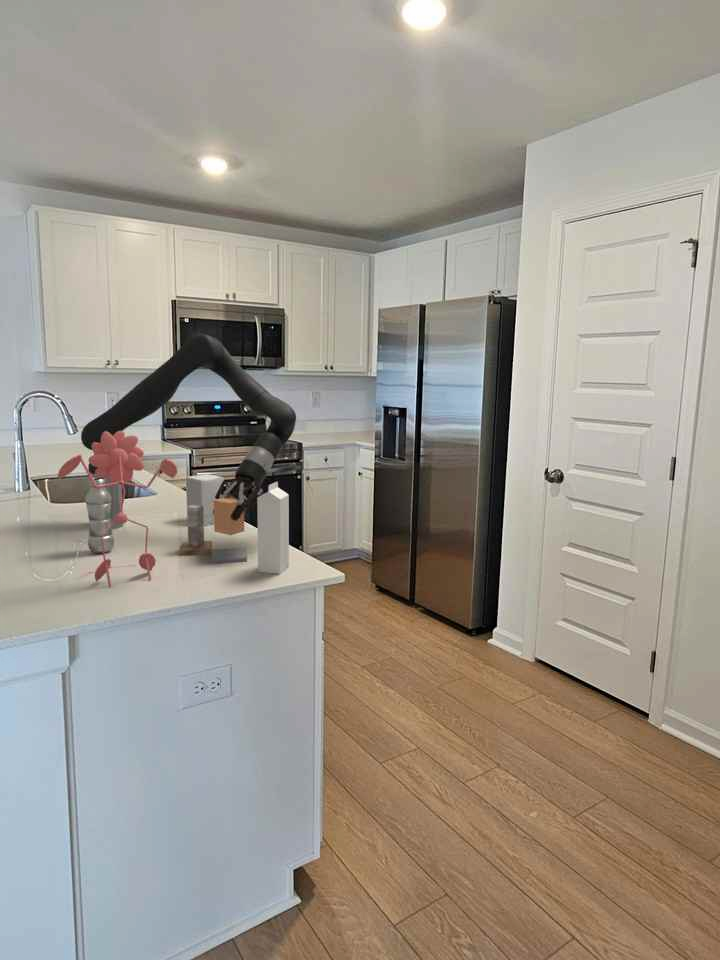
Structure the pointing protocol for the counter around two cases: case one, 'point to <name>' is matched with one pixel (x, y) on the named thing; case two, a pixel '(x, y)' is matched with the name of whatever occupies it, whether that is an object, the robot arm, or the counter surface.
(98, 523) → the plastic bottle
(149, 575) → the figurine
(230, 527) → the tall orange box
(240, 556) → the mat
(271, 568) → the milk
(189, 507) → the post stand
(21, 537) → the counter surface
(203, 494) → the supplement box
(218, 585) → the counter surface
